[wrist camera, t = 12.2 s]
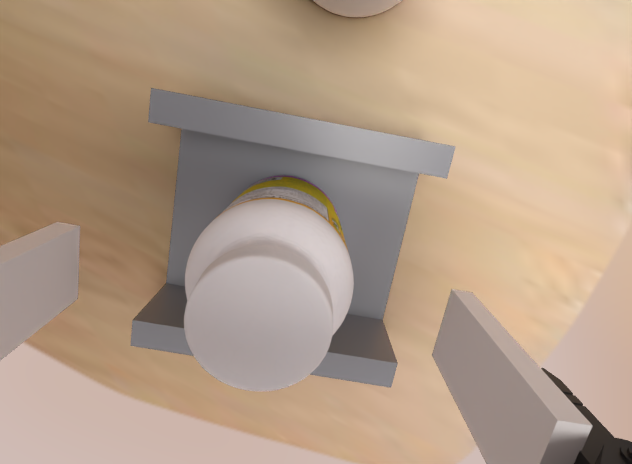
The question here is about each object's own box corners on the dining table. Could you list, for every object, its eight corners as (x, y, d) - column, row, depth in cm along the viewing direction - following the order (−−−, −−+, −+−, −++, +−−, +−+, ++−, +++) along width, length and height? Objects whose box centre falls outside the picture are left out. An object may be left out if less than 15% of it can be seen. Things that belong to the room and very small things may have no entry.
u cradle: (189, 95, 24) (151, 87, 18) (423, 140, 25) (455, 146, 19) (168, 299, 27) (130, 345, 22) (375, 334, 28) (391, 387, 22)
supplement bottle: (316, 293, 26) (317, 446, 14) (217, 257, 26) (125, 384, 13) (357, 196, 25) (399, 271, 12) (252, 155, 24) (185, 191, 12)
